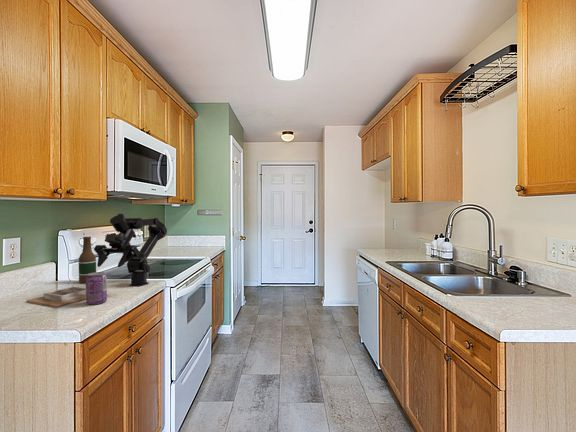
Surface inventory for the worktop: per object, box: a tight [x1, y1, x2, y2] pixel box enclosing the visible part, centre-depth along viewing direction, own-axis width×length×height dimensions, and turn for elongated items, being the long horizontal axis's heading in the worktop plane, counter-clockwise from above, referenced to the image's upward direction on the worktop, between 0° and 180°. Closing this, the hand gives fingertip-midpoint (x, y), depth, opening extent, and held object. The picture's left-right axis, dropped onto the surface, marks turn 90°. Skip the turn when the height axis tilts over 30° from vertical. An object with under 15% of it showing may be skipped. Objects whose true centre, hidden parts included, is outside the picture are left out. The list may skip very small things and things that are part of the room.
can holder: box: [25, 286, 86, 309], centre depth 130 cm, size 20×20×3 cm
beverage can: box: [85, 271, 108, 306], centre depth 123 cm, size 7×7×12 cm
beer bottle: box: [78, 236, 97, 285], centre depth 159 cm, size 8×8×24 cm
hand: (108, 266), depth 130 cm, fingers open, 9 cm apart
